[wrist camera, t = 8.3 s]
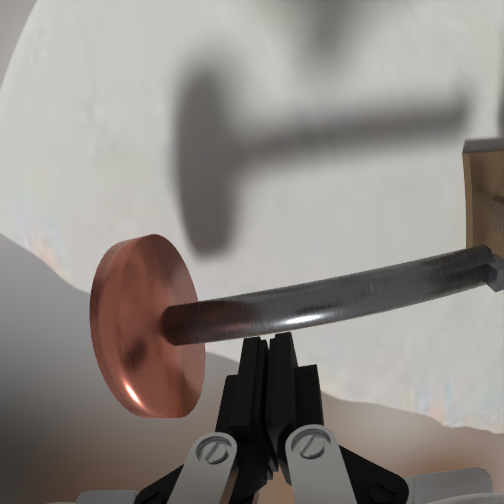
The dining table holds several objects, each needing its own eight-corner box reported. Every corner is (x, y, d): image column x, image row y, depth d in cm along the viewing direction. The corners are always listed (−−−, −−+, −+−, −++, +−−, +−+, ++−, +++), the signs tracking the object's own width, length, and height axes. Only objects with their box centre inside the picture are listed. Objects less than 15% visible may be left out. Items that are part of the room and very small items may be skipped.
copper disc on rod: (130, 224, 20) (39, 294, 11) (450, 161, 17) (558, 194, 8) (177, 348, 24) (135, 452, 14) (452, 296, 21) (521, 382, 11)
